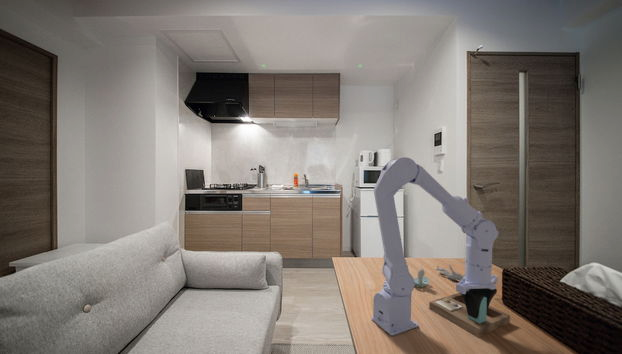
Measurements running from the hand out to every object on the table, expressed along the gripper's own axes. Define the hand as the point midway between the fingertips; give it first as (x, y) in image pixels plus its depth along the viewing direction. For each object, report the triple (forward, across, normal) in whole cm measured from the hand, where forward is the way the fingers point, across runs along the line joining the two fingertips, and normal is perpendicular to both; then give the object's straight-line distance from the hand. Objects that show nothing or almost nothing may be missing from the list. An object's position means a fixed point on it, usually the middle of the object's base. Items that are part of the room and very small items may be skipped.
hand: (476, 314), depth 64 cm
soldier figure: (+4, +22, +22) cm, 32 cm away
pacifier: (+4, +6, +24) cm, 25 cm away
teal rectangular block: (+1, 0, 0) cm, 1 cm away
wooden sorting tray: (+3, +4, +4) cm, 7 cm away
